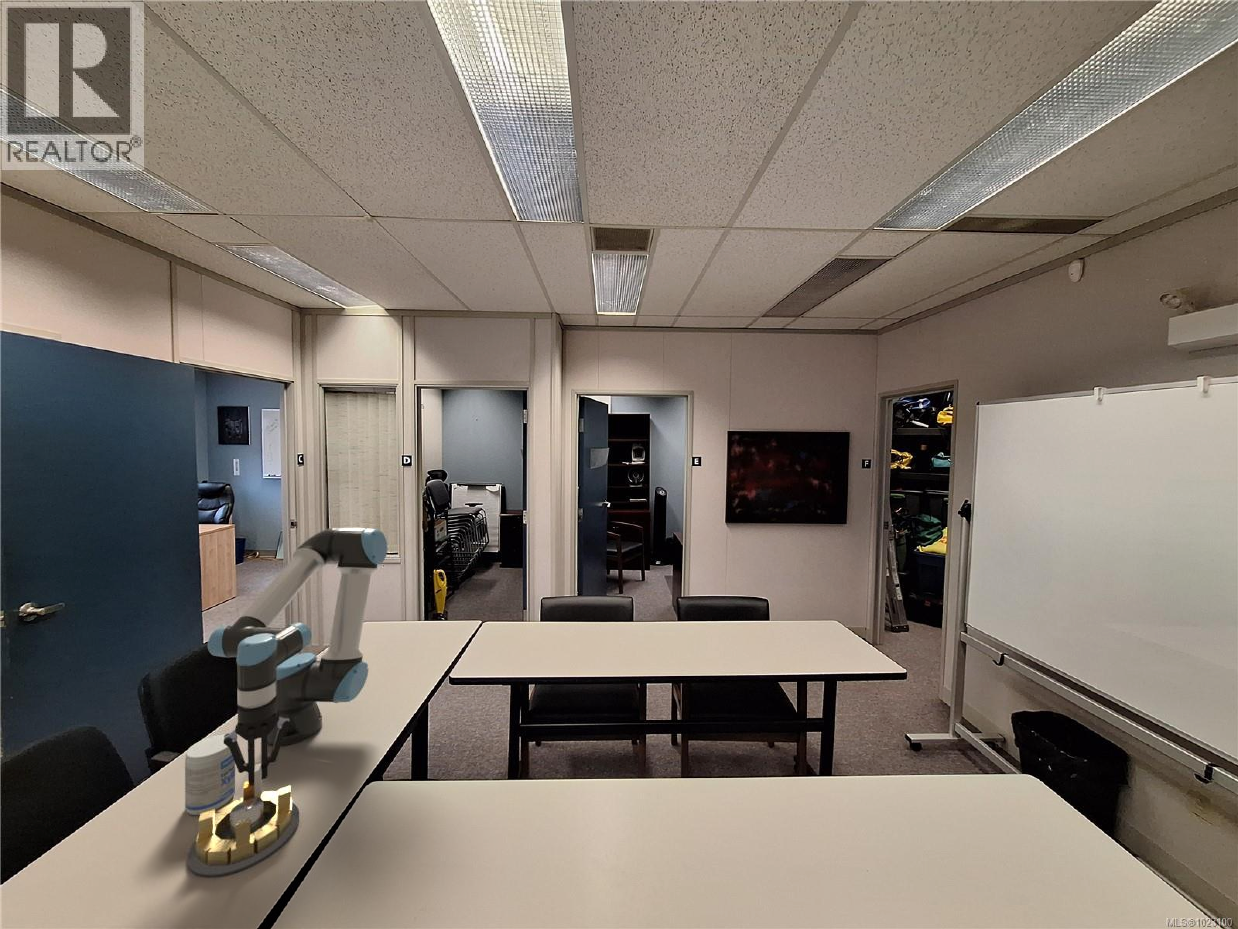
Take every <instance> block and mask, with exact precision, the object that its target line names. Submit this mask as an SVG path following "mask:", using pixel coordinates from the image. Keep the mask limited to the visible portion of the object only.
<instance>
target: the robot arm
mask: <svg viewBox="0 0 1238 929" xmlns="http://www.w3.org/2000/svg"><path fill="white" fill-rule="evenodd" d="M387 552H388V542H387V538H386V537H385V534H384V533H383V532H382V531H381V530H380V529H378V528H369V527H341V526H339V527H338V526H335V527H329V528H326V529H324V530H321V531H319V532H317V533H315V534H314V535H312V536H311V537H310V538H308V539H306V540H305V541H303V542H302V544H301V545H300V546H298V547H297V549H295V551H294V552H293V553H292V559H291V560H290V561H289V563H288V564H287V565H285V567H284V568H283V569H282V570H281V571H280V572H279V574H278V575H277V576H275V578H274V579H273V580H272V581H271V583H270V584H269V585H268V586H267V587H266V588H265V589H264V590H263V591H262V593H260V595H259V596H258V597H256V599H255V600H254V601H253V602H252V603H251V604H250V606H249V607H248V608H247V609H246V610H245V611H244V612H243V613H242V615H241V616H240V617H239V618H238V619H237V620H236V621H235V622H234V623H233V624H232V625H229V624H228V625H226V626H225V625H224V626H220V627H219V628H216V629H215V630H214V631H213V632H212V633H211V634H210V636H209V638H208V641H207V649H208V652H209V653H210V654H211V655H212V656H214V657H215V656H216V657H221V658H235V661H236V667H237V670H236V673H237V684H236V686H237V689H236V690H237V691H236V692H237V723H236V725H235V727H234V730H232V731H231V732H229V733H226V735H225V736H224V744H225V745H226V746H228V747H229V748H230V751H231V753H232V756H233V759H234V761H235V767H236V769H237V772H238V773H240V774H242V773H244V772H247V773H248V774H247V776H248V777H247V778H248V780H247V781H248V783H249V784H252V783H255V797H257V796H260V795H262V793H263V780H266V779H267V778H268V768H269V765H270V764H273V763H276V761H277V759H278V756H279V753H280V749H281V746H288V745H293V744H296V743H299V742H302V741H304V740H306V739H309V738H310V737H312V736H313V735H314V734H316V733H317V732H318V731H319V730H320V729H321V728H322V725H323V716H322V713H321V710H320V707H319V705H318V703H335V704H339V703H349V702H351V701H353V700H355V699H356V698H357V697H358V696H359V695H360V693H361V691H362V690H363V688H364V686H365V684H366V683H367V679H368V675H369V667H368V666H369V665H368V663H367V662H365V661H363V656H364V654H363V653H362V652H361V651H360V649H359V648H360V643H361V636H362V633H363V626H364V619H365V613H366V607H367V600H368V594H369V588H370V581H371V576H372V574H373V573H374V572H375V571H376V570H377V569H378V565H380V564H381V563H383V562H384V561H385V560H386V559H385V558H387V555H388V554H387ZM328 563H329V564H330V563H337V569H338V570H339V571H340V573H341V575H340V580H339V587H338V591H337V598H336V604H335V609H334V615H333V620H332V624H331V631H330V632H331V633H330V637H329V642H328V643H329V644H328V649H327V651H326V652H325V653H323V655H321V657H320V660H318V657H317V654H315V653H314V652H304V653H300V652H302V651H303V649H305V648H306V647H307V646H308V645H309V644H310V642H311V640H312V630H311V629H310V627H309V626H308V625H306V624H305V623H303V622H293V623H292V624H288V625H286V626H285V627H271V626H272V625H273V623H275V621H276V620H277V618H278V617H279V616H280V615H281V614H282V612H283V611H284V610H285V609H286V608H287V606H288V605H289V604H290V603H291V602H292V600H293V599H294V598H295V597H296V596H297V595H298V593H299V592H300V591H301V589H302V588H303V587H304V586H305V585H306V583H307V582H308V581H309V579H311V577H312V576H313V575H314V574H315V573H316V572H318V571H320V570H323V568H324V567H325V566H326V565H327V564H328ZM317 702H318V703H317ZM315 732H316V733H315ZM238 736H239V737H241V738H242V739H244V740H245V741H247V762H246V761H245V758H244V756H243V753H242V751H241V748H240V746H239V743H238ZM257 739H260V744H261V745H260V746H261V747H260V749H261V750H260V752H261V753H260V755H261V756H260V757H261V758H260V760H261V761H260V762H261V763H259V764H258V763H257V764H255V763H256V762H255V761H256V760H255V759H256V757H255V756H256V755H255V753H256V751H255V744H256V743H255V740H257ZM268 745H269V746H272V749H271V753H270V755H268V752H269V751H268Z"/></svg>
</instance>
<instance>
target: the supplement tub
mask: <svg viewBox="0 0 1238 929" xmlns="http://www.w3.org/2000/svg"><path fill="white" fill-rule="evenodd" d="M226 734H227V733H226ZM226 734H218V735H213V736H209V737H206V738H204V739H201V740H200V741H198V742H196V743H194V744H193V745H191V746H190V747H189V748H188V749H187V750H186V752H185V759H184V769H185V770H184V773H185V774H184V790H185V791H184V800H185V801H184V808H185V812H186V813H187V814H190V815H194V816H198V815H199V816H200V814H201V813H205V812H208V811H211V810H214V809H215V811H216V810H218V809H221V807H223V806H224V805H226V804H227V803H228V802H229V801H230V800H232V798H233V797H234V795H235V792H236V764H235V761H234V759H233V756H232V753H231V751H230V748H229V747H228V746H226V745H225V744H224V736H225V735H226Z"/></svg>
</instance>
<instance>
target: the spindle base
mask: <svg viewBox="0 0 1238 929" xmlns="http://www.w3.org/2000/svg"><path fill="white" fill-rule="evenodd" d="M273 817H274V815H273V814H272V813H270V812H264V813H263V800H262V799H261V798H251V799H248V800H245V801H243V802H241V803H239V804H238V805H236V806H235V807H234V808H233V809H232V810H231V812H230V825H229V826H227V827H226V828H225V829H224V830H223V831H222V832H221V833H220V835H219V836H218V837H219V838H220V839H221V840H226V839H236V825H237V822H239V821H242V820H245V819H248V818H251V834H252V833H254V832H255V831H257V830H259V829H260V828H262V827H263V826H265V825H266V824H268V823H269V821H270V820H271V819H272V818H273ZM299 822H300V811H299V808H298V806H297V804H295V803H293V802H292V822H291V824H290V825H289V826H288V828H287V829H286V830H285V832H284V833H283V834H282V835H281V837H280V838H277V841H275V842H274V843H272V844H271V845H269V846H268V847H266V848H265V849H263V850H262V851H261V852H259V853H256V852H255V851H254V856H251V857H248V858H246V859H243V860H240V861H238V862H235V863H232V864H231V861H230V862H229V863H228V864H227V865H208V863H207V864H206V865H205V864H204V863H203V862H202V861H200V860H199V859H198V858H197V857H196V840H197V838H195V840H194V841H193V843H192V844H191V847H190V848H189V850H188V853H187V866H188V869H189V871H190V872H191V873H192V874H193V875H196V876H197V877H201V878H219V877H220V878H221V877H226V876H230V875H235V874H237V873H239V872H242V871H244V870H247V869H249V868H252V867H253V866H255V865H257V864H259V863H261V862H263V861H265V860H266V859H268V858H270V857H271V856H272V855H273V854H275V853H277V851H279V850H280V849H281V848H282V847H283V846H284V845H285V844H286V843H288V841H289V840H290V839H292V838H291V837H293V835H294V834H295V832H296V830H297V829H298V825H299ZM278 849H279V850H278ZM274 852H275V853H274ZM270 855H271V856H270Z"/></svg>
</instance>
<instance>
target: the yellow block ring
mask: <svg viewBox="0 0 1238 929" xmlns="http://www.w3.org/2000/svg"><path fill="white" fill-rule="evenodd" d="M291 787H292V786H291V785H288V786H285V787H281V788H279V789H278V790H276V791H275V790H269V791H267V790H266V791H264V790H263V791H262V795H260V796H257V797H255V783H252V784H249V783H248V780H247V781H245V782H244V783H243V787H242V788H243V791H242V793H243V795H242V797H240V799H239V800H238V799H236V800H234V801H232V802H230V803H229V804H227V805H225V806H224V807H222V808H219V810H217V812H216V810H215V809H214V810H211V811H208V812H205V813H201V814H200V815H199V818H198V823H197V825H198V826H197V827H198V831H197V832H198V833H197V836H196V839H197V840H196V839H195V840H196V857H197V858H198V859H199V860H200V861H202V862H203V863H204V864H205V865H206V864H207V863H208V865H227V864H228V863H229V862H230V861H231V864H232V863H235V862H238V861H240V860H243V859H246V858H248V857H251V856H254V851H255V852H256V853H259V852H261V851H262V850H263V849H265V848H266V847H268V846H269V845H271V844H272V843H274V842H275V841H277V838H280V837H281V835H282V834H283V833H284V832H285V830H286V829H287V828H288V826H289V825H290V824H291V822H292V803H293V798H292V795H291V793H292V792H291V789H292V788H291ZM251 798H261V799H262V800H263V813H264V812H270V813H272V814H273V815H274V817H273V818H272V819H271V820H270V821H269V823H268V824H266V825H265V826H263V827H262V828H260V829H259V830H257V831H255V832H254V833H252V834H251V818H248V819H245V820H242V821H239V822H237V825H236V839H226V840H221V839H220V838H219V837H218V836H219V835H220V833H221V832H222V831H223V830H224V829H225V828H226V827H227V826H229V825H230V812H231V810H232V809H233V808H234V807H235V806H236V805H238V804H239V803H241V802H243V801H245V800H248V799H251Z"/></svg>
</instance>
